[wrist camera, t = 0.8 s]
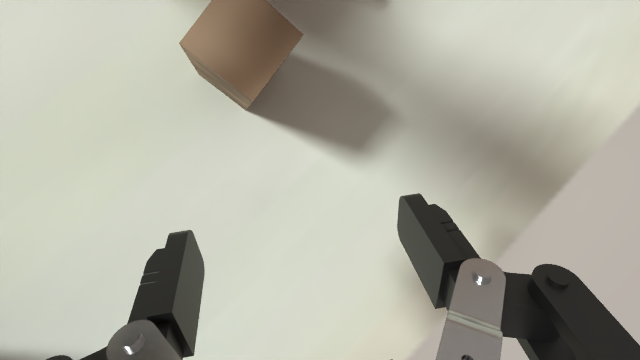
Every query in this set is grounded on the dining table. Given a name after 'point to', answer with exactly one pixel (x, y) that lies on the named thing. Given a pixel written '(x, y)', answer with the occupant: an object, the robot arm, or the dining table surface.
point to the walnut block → (239, 46)
